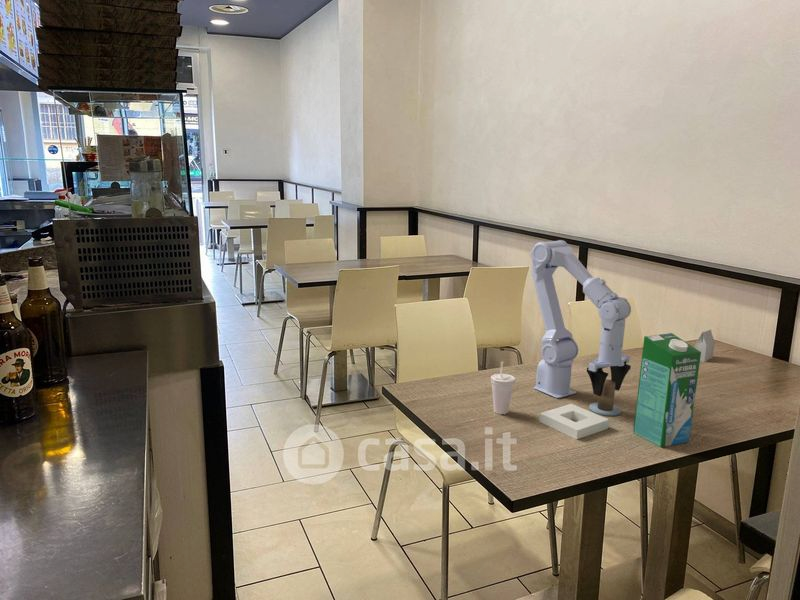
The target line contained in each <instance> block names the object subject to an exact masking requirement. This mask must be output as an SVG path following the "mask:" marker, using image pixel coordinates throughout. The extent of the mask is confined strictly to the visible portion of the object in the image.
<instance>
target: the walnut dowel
mask: <svg viewBox="0 0 800 600" xmlns="http://www.w3.org/2000/svg"><path fill="white" fill-rule="evenodd" d="M615 384H616V383H615V382H614V381H612V380H611V379H608V378H606V380H605V383H604V387H603V392H602V395H601V396H598V395H597V396H598V397H597V402H598V405H597V408H598V409H600V410H603V411H612V410H613V405H614V401H615V393H616V390H615Z"/></svg>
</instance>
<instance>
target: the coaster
mask: <svg viewBox="0 0 800 600" xmlns="http://www.w3.org/2000/svg"><path fill="white" fill-rule="evenodd" d="M597 405H598V401H597V402H591V403H590V404H589V407H588V409H589V411H590V412H593V413H595V414H597V415H600V416H602V417H604V416H605V417H615V416H618V415H620V414H621V408H620V407H619V406H617V405H615V404H613V410H612V411H603V410H600V409H598V408H597Z"/></svg>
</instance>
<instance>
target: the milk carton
mask: <svg viewBox="0 0 800 600" xmlns="http://www.w3.org/2000/svg"><path fill="white" fill-rule="evenodd" d="M700 357H701V352H700V351H699V350H697V349H696V348H695V346H692V345H691V344H689V343H688V342H687V341H684V339H681V338H680V337H678V336H677V335H676V334H674V333H673V332H668V333H663V334H654V335H653V334H651V335H645V336H643V343H642V352H641V363H640V372H639V377H638V378H639V379H638V386H637V387H638V389H637V397H636V405H635V414H634V415H635V416H634V425H633V431H632V432H633V433H634V434H636V435H637V436H639V437H641V438H643V439H645V440H647V441H649V442H651V443H652V444H654V445H656V446H658V447H660V448H665V447H670V446H674V445H678V444H684V443H687V442H689V441H690V435H691V429H692V422H693V421H692V420H693V415H694V407H695V398H696V392H697V387H698V386H697V385H698V378H699V377H698V376H699V370H700V363H701V361H700Z"/></svg>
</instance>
